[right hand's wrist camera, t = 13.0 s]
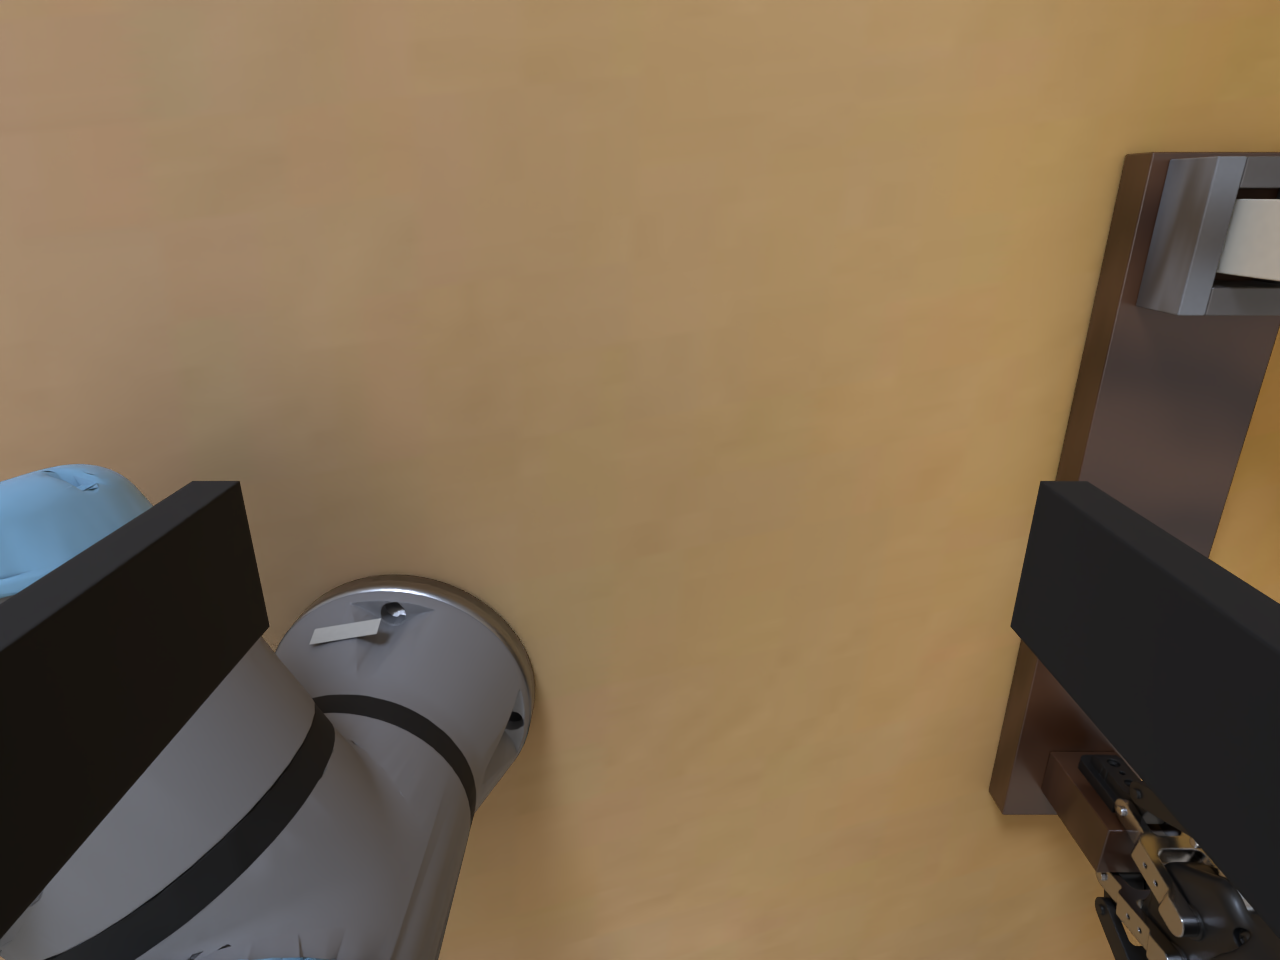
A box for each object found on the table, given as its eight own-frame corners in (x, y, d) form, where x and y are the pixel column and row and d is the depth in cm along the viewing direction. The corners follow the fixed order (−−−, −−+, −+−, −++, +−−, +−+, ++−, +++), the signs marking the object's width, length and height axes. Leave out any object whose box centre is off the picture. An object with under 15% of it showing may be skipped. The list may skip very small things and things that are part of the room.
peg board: (1111, 791, 48) (1197, 900, 41) (988, 791, 48) (1051, 900, 41) (1296, 154, 35) (1477, 143, 27) (1125, 154, 35) (1258, 143, 27)
